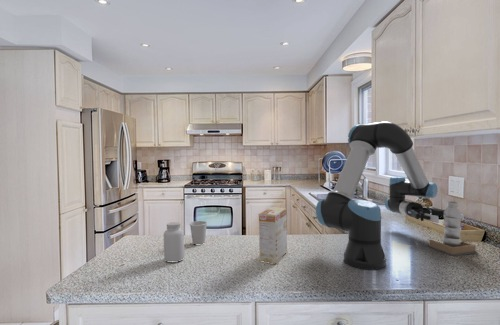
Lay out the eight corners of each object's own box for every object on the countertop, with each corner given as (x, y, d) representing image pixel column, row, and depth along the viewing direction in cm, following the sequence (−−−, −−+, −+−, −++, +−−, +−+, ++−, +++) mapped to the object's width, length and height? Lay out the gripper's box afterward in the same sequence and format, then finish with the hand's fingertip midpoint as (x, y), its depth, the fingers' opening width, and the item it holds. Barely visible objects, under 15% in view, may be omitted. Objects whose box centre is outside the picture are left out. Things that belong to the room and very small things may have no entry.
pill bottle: (178, 254, 119) (177, 220, 119) (188, 259, 114) (187, 223, 113) (160, 259, 114) (159, 223, 113) (170, 265, 108) (169, 227, 108)
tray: (454, 255, 112) (454, 248, 112) (428, 246, 124) (428, 239, 124) (476, 252, 115) (476, 245, 115) (449, 243, 127) (449, 237, 127)
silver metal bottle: (454, 245, 122) (455, 200, 122) (465, 251, 116) (465, 203, 115) (439, 245, 123) (439, 200, 122) (448, 250, 116) (449, 203, 116)
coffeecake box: (272, 250, 123) (271, 206, 122) (287, 252, 120) (287, 207, 119) (258, 262, 110) (257, 213, 109) (275, 265, 106) (274, 214, 106)
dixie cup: (202, 247, 128) (201, 225, 128) (186, 245, 131) (186, 224, 131) (210, 241, 136) (210, 221, 136) (195, 240, 139) (195, 220, 139)
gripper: (431, 214, 144) (473, 224, 123) (390, 218, 138) (427, 229, 117) (431, 200, 143) (473, 208, 123) (390, 203, 137) (427, 211, 117)
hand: (450, 218), depth 120 cm, fingers open, 13 cm apart
